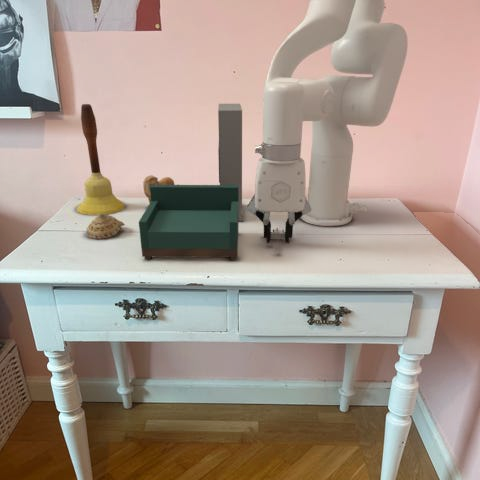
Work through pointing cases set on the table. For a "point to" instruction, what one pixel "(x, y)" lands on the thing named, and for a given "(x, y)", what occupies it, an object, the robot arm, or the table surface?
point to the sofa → (191, 221)
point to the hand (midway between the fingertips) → (277, 240)
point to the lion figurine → (154, 181)
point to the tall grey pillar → (230, 147)
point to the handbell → (96, 174)
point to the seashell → (103, 227)
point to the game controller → (277, 235)
